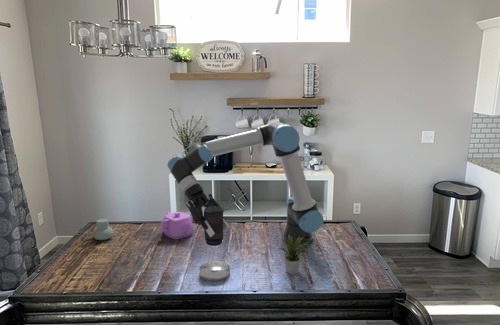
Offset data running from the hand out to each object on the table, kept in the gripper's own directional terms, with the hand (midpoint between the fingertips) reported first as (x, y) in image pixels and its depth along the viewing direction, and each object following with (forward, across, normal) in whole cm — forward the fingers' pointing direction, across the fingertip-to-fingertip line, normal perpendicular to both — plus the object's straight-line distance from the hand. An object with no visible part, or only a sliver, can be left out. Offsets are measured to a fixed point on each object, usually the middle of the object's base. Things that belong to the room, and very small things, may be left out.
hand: (219, 231), depth 156 cm
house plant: (+30, -22, +1) cm, 37 cm away
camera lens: (+2, 0, -6) cm, 7 cm away
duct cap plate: (+12, 0, -17) cm, 21 cm away
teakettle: (-20, -21, -49) cm, 57 cm away
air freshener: (-39, +7, -68) cm, 79 cm away
